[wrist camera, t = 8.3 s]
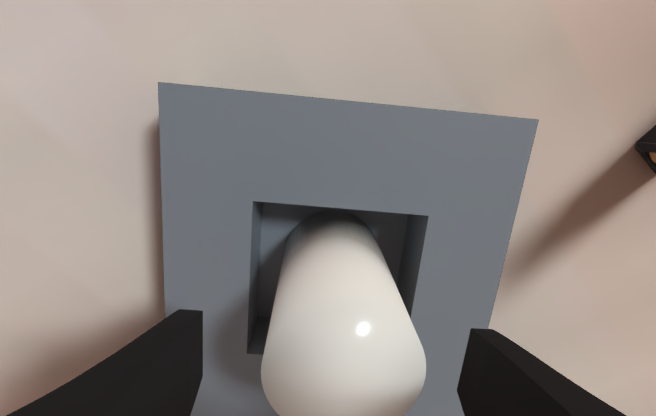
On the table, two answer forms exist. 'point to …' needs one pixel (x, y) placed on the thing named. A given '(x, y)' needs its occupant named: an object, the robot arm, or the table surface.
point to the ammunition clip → (648, 147)
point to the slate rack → (331, 195)
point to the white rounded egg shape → (339, 327)
